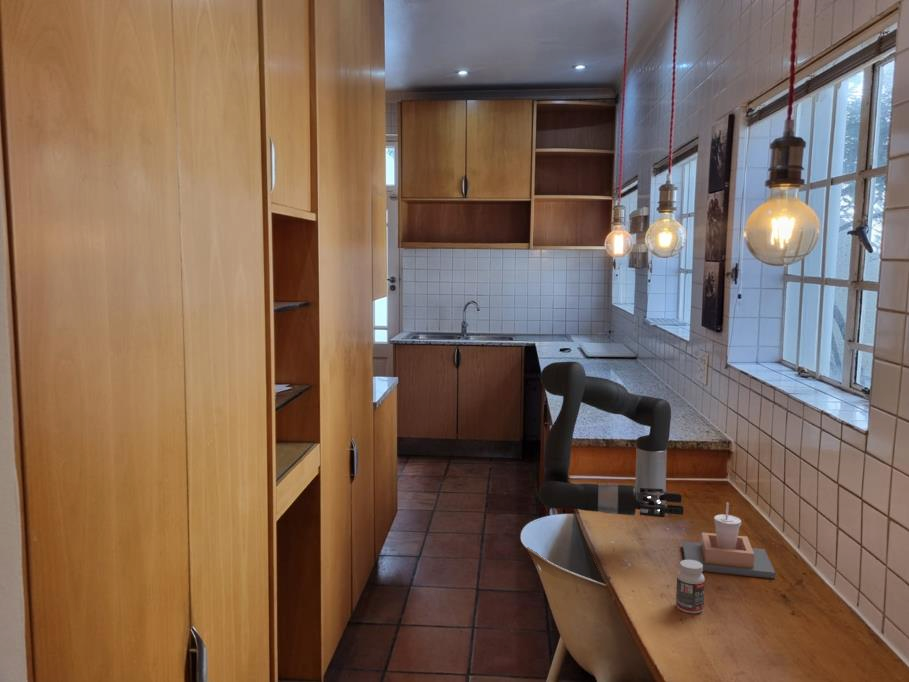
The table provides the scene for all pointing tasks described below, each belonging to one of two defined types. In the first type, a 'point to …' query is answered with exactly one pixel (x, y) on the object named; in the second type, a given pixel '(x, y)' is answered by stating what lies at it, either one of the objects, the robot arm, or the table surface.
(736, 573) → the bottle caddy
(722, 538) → the smoothie
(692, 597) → the pill bottle
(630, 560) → the table surface
